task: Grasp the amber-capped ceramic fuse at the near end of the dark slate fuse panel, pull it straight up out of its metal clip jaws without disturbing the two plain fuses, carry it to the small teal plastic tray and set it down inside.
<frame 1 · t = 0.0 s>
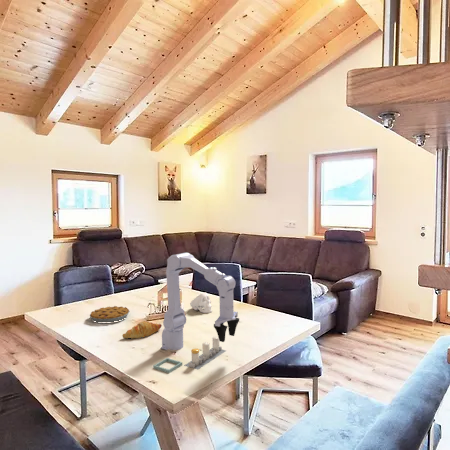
hand: (227, 338, 150), 10 cm above the table, fingers open, 7 cm apart
fuse middle: (206, 357, 153), point 1 cm above the table, touching fuse panel
fuse panel: (206, 359, 153), on the table
fuse far: (216, 351, 160), point 1 cm above the table, touching fuse panel
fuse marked: (195, 364, 147), point 1 cm above the table, touching fuse panel
tray: (168, 368, 146), on the table
croissant: (142, 335, 184), on the table
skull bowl: (201, 310, 223), on the table
pie: (110, 318, 210), on the table
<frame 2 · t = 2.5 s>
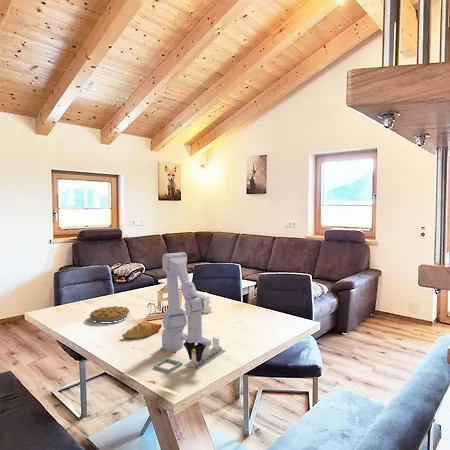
hand: (195, 359, 147), 3 cm above the table, fingers closed on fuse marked, 3 cm apart
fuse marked: (195, 364, 147), point 1 cm above the table, touching fuse panel, gripper
everything else where it was.
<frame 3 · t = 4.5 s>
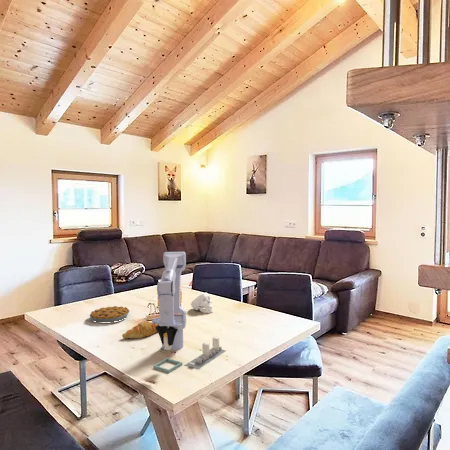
hand: (167, 343, 145), 10 cm above the table, fingers closed on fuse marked, 3 cm apart
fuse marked: (167, 348, 145), point 8 cm above the table, touching gripper
everything else where it was.
when the fingers open (3 cm above the table, at t = 6.4 s): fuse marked stays where it is, resting on tray.
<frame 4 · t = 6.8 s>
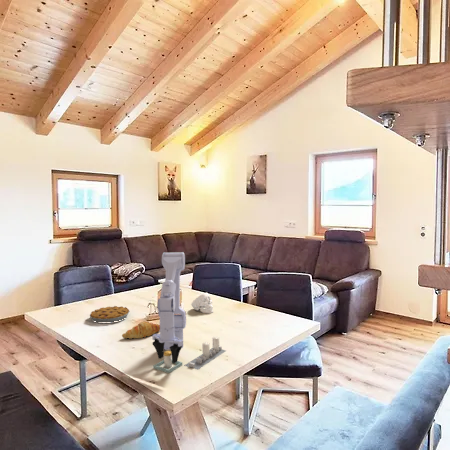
hand: (167, 360, 146), 3 cm above the table, fingers open, 7 cm apart
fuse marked: (168, 367, 146), point 1 cm above the table, touching tray
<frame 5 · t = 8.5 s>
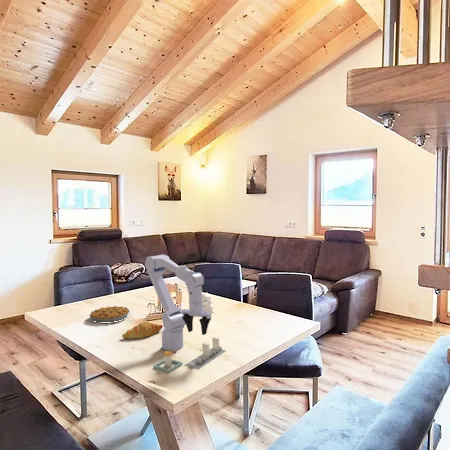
hand: (197, 332, 156), 10 cm above the table, fingers open, 7 cm apart
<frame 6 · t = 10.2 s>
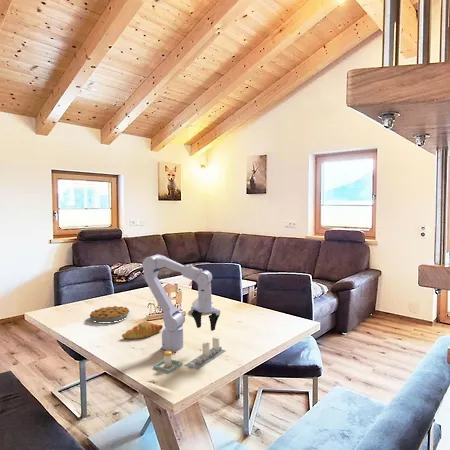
hand: (205, 328, 161), 10 cm above the table, fingers open, 7 cm apart
at the end: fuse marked 0.1 cm off-centre on the tray, point 0.5 cm above the tray's base; fuse middle moved 0.0 cm from its start; fuse far moved 0.0 cm from its start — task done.
